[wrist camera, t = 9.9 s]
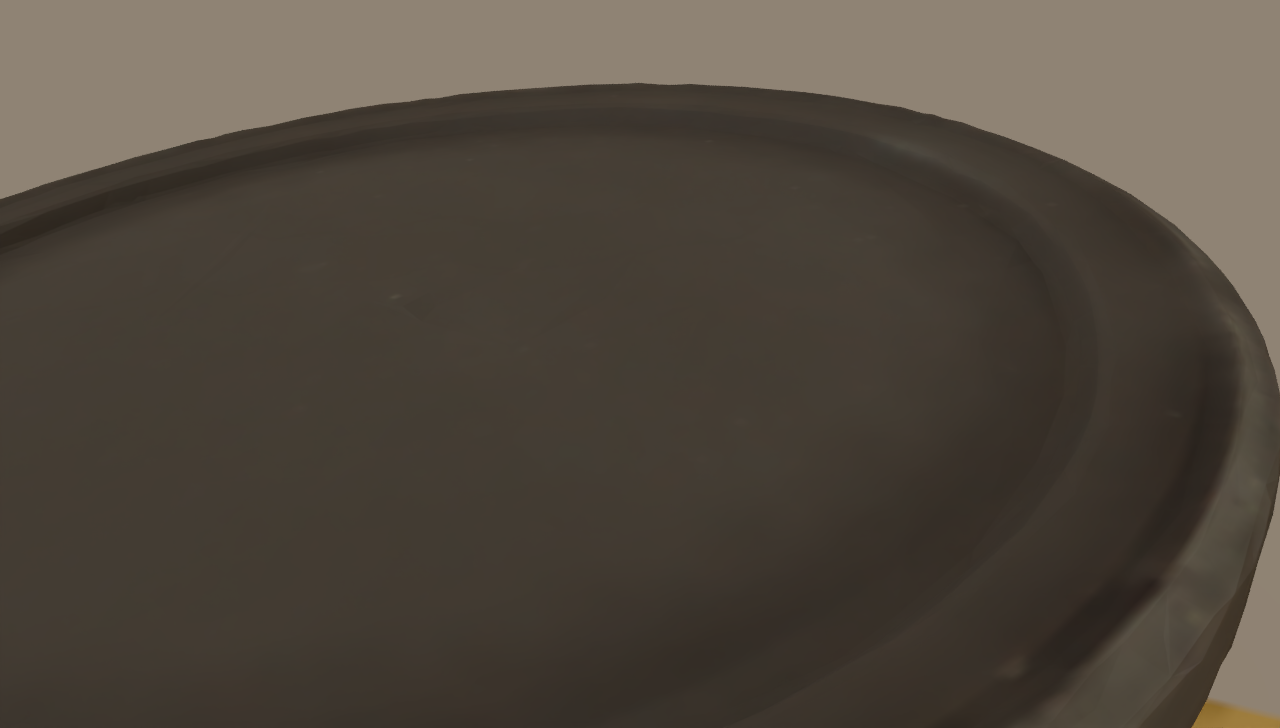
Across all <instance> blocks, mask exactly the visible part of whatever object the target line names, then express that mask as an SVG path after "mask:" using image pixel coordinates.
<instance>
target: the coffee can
mask: <svg viewBox="0 0 1280 728" xmlns="http://www.w3.org/2000/svg"><path fill="white" fill-rule="evenodd" d="M1279 476H1280V393H1279V388H1278V384H1277V379H1276V375H1275V370H1274V367H1273V365H1272V362H1271V360H1270V357H1269V354H1268V350H1267V347H1266V344H1265V340H1264V338H1263V336H1262V334H1261V332H1260V330H1259V328H1258V326H1257V324H1256V321H1255V320H1254V318H1253V317H1252V315H1251V313H1250V312H1249V310H1248V309H1247V307H1246V306H1245V304H1244V302H1243V301H1242V299H1241V298H1240V296H1239V294H1238V293H1237V291H1236V290H1235V288H1234V287H1233V285H1232V284H1231V283H1230V282H1229V280H1228V279H1227V278H1226V276H1225V275H1224V274H1223V273H1222V272H1221V270H1220V269H1219V268H1218V267H1217V266H1216V265H1215V264H1214V263H1213V261H1212V260H1211V259H1210V258H1209V257H1208V256H1207V255H1206V254H1205V253H1204V252H1203V251H1202V250H1201V249H1200V248H1199V247H1198V246H1197V245H1196V244H1195V243H1193V242H1192V241H1191V240H1190V239H1189V238H1188V237H1187V236H1186V235H1185V234H1184V233H1183V232H1182V231H1181V230H1179V229H1178V228H1177V227H1176V226H1175V225H1174V224H1172V223H1171V222H1169V221H1168V220H1167V219H1165V218H1164V217H1163V216H1161V215H1160V214H1158V213H1157V212H1155V211H1154V210H1153V209H1151V208H1150V207H1148V206H1147V205H1145V204H1144V203H1143V202H1141V201H1140V200H1138V199H1137V198H1135V197H1134V196H1132V195H1131V194H1129V193H1127V192H1126V191H1124V190H1122V189H1120V188H1118V187H1116V186H1114V185H1112V184H1111V183H1108V182H1107V181H1105V180H1103V179H1101V178H1099V177H1097V176H1095V175H1094V174H1092V173H1090V172H1087V171H1085V170H1083V169H1081V168H1079V167H1077V166H1075V165H1073V164H1071V163H1069V162H1067V161H1065V160H1063V159H1060V158H1057V157H1055V156H1052V155H1050V154H1047V153H1045V152H1043V151H1040V150H1037V149H1035V148H1033V147H1030V146H1027V145H1025V144H1022V143H1019V142H1017V141H1014V140H1011V139H1009V138H1006V137H1003V136H1000V135H997V134H994V133H990V132H987V131H984V130H981V129H978V128H976V127H972V126H970V125H968V124H965V123H962V122H957V121H953V120H948V119H944V118H941V117H938V116H936V115H932V114H923V113H920V112H916V111H913V110H909V109H906V108H902V107H897V106H889V105H882V104H875V103H870V102H865V101H859V100H854V99H848V98H842V97H836V96H829V95H822V94H814V93H806V92H795V91H783V90H772V89H760V88H749V87H733V86H710V85H708V86H707V85H695V84H685V85H657V84H644V83H632V84H606V85H604V84H603V85H578V86H563V87H562V86H561V87H548V88H532V89H519V90H504V91H491V92H481V93H470V94H459V95H454V96H449V97H443V98H435V99H422V100H417V101H411V102H402V103H390V104H382V105H374V106H367V107H361V108H355V109H348V110H344V111H339V112H334V113H329V114H323V115H318V116H312V117H306V118H301V119H297V120H293V121H289V122H285V123H280V124H276V125H273V126H266V127H261V128H254V129H248V130H242V131H238V132H233V133H229V134H225V135H222V136H218V137H215V138H211V139H205V140H199V141H195V142H191V143H187V144H184V145H180V146H177V147H173V148H170V149H166V150H162V151H158V152H154V153H150V154H147V155H142V156H139V157H135V158H132V159H128V160H125V161H122V162H119V163H116V164H112V165H109V166H105V167H102V168H99V169H95V170H91V171H88V172H85V173H82V174H78V175H74V176H71V177H67V178H64V179H61V180H58V181H54V182H51V183H48V184H44V185H41V186H39V187H36V188H33V189H30V190H27V191H25V192H22V193H19V194H15V195H12V196H9V197H6V198H3V199H0V728H1191V727H1192V726H1193V724H1194V722H1195V720H1196V719H1197V717H1198V715H1199V713H1200V711H1201V709H1202V707H1203V706H1204V704H1205V702H1206V700H1207V698H1208V695H1209V693H1210V690H1211V688H1212V685H1213V683H1214V680H1215V678H1216V676H1217V673H1218V671H1219V668H1220V666H1221V664H1222V662H1223V660H1224V659H1225V657H1226V655H1227V654H1228V652H1229V650H1230V649H1231V647H1232V644H1233V641H1234V638H1235V635H1236V632H1237V629H1238V626H1239V623H1240V620H1241V618H1242V615H1243V612H1244V609H1245V606H1246V602H1247V598H1248V595H1249V592H1250V588H1251V585H1252V581H1253V577H1254V574H1255V570H1256V567H1257V563H1258V560H1259V557H1260V554H1261V550H1262V547H1263V544H1264V541H1265V538H1266V535H1267V531H1268V528H1269V525H1270V522H1271V519H1272V516H1273V510H1274V504H1275V499H1276V493H1277V488H1278V482H1279Z"/></svg>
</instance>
